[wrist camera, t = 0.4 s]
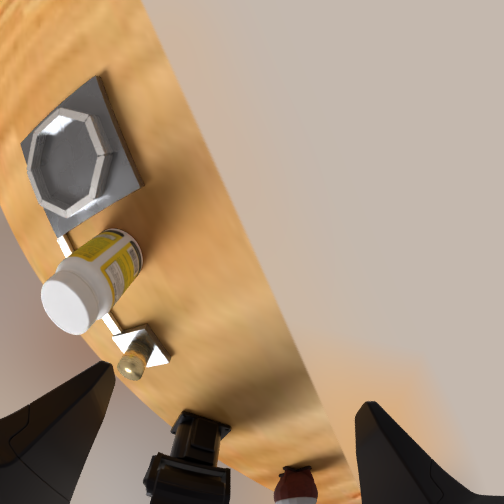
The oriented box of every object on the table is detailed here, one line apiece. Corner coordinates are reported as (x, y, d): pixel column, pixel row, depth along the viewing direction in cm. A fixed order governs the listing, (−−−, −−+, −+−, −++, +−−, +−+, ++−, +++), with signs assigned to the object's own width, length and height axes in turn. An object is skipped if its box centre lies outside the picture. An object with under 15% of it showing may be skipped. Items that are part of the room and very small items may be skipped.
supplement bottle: (88, 254, 21) (30, 303, 14) (112, 215, 20) (46, 256, 12) (127, 290, 23) (80, 351, 15) (155, 255, 21) (105, 314, 13)
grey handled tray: (228, 343, 24) (223, 373, 21) (138, 363, 26) (126, 389, 23) (100, 77, 16) (72, 69, 12) (22, 146, 18) (-6, 152, 14)
